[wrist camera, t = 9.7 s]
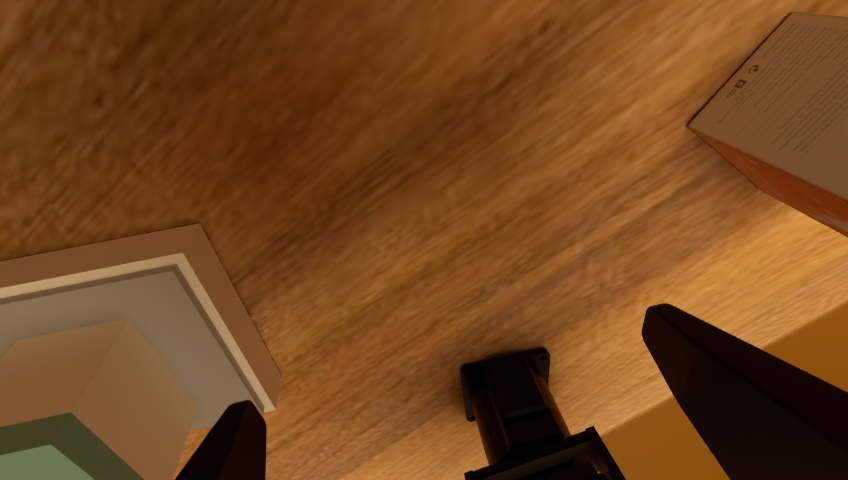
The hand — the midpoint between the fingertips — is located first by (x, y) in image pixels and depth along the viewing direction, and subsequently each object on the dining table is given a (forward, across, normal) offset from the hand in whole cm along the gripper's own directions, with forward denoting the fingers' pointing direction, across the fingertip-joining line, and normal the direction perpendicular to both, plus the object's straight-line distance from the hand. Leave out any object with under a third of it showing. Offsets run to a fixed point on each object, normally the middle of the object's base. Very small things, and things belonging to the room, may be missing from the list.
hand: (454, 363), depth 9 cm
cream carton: (+10, +16, +7) cm, 20 cm away
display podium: (+12, +16, +7) cm, 22 cm away
